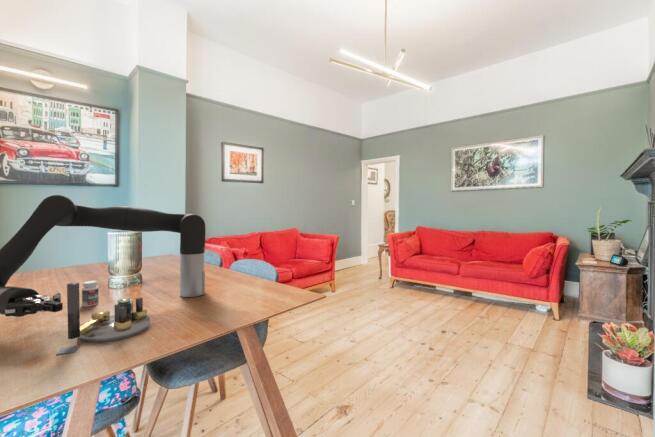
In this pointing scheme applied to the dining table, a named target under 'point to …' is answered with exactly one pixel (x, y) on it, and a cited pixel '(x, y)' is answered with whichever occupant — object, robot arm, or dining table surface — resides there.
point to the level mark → (67, 350)
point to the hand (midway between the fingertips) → (59, 307)
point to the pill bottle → (90, 294)
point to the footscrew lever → (74, 313)
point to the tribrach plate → (108, 331)
